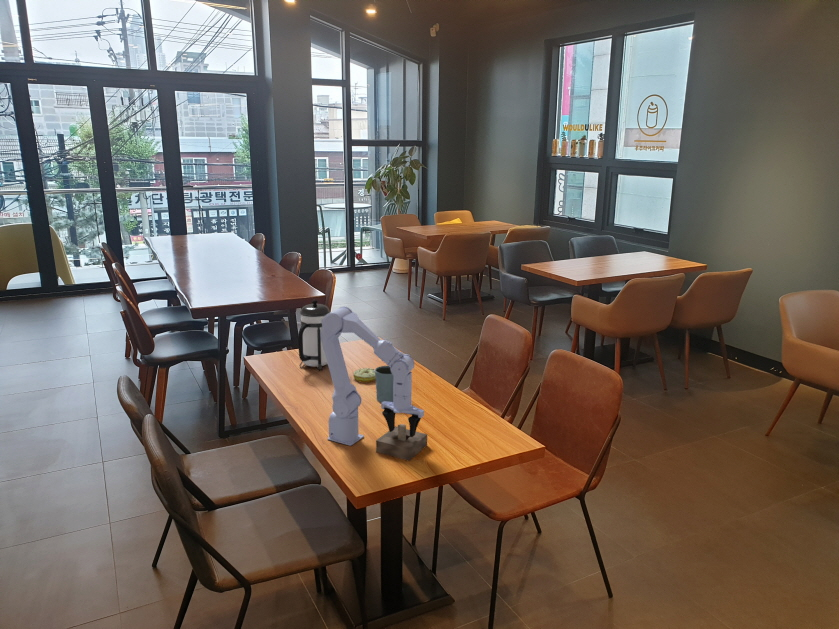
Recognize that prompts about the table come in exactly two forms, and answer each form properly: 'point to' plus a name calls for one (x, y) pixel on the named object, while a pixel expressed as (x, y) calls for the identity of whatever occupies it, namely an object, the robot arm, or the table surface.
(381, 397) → the teal cup
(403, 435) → the dowel
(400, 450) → the square block with hole
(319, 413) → the table surface
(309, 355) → the coffee press
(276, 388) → the table surface
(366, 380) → the decorated donut
